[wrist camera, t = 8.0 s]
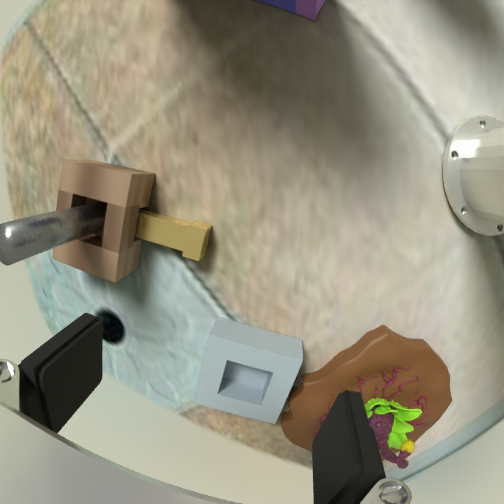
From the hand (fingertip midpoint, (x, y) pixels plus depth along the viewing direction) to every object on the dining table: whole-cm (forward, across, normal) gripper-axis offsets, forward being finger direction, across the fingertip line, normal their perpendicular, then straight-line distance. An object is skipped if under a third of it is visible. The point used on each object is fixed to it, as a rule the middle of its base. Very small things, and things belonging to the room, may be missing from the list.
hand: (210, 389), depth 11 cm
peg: (+18, +16, 0) cm, 24 cm away
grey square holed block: (+20, -2, +12) cm, 24 cm away
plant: (+21, -18, +14) cm, 31 cm away
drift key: (+20, +11, 0) cm, 23 cm away
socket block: (+20, +16, 0) cm, 26 cm away
